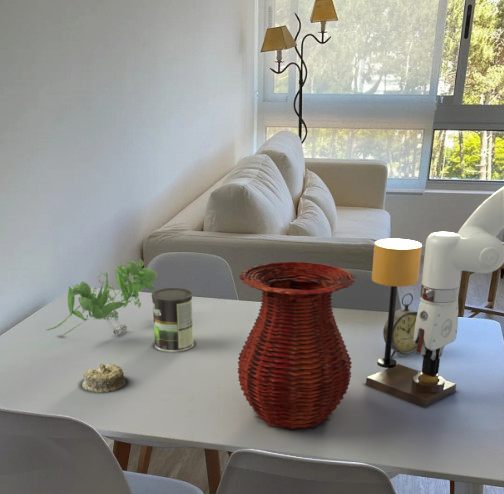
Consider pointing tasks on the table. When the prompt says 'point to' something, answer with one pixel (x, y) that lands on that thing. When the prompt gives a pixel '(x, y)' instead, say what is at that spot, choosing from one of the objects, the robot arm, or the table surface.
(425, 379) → the lamp switch
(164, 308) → the coffee can
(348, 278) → the vase
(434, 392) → the lamp base
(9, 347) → the table surface
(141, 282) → the plant cuttings
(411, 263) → the lamp
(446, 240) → the robot arm
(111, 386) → the cake
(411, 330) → the alarm clock
